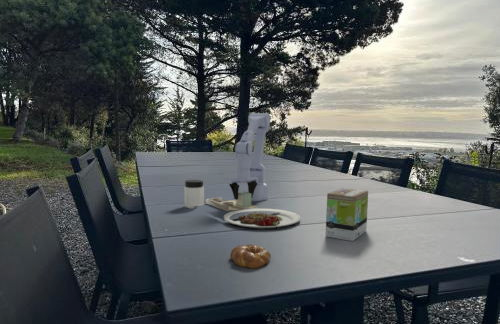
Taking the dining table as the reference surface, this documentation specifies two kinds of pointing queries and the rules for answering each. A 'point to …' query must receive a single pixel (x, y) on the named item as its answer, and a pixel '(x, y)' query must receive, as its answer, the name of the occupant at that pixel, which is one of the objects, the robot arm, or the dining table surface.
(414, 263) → the dining table surface
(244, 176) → the robot arm
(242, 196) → the tea tin
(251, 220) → the plated food
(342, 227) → the tea box
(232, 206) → the beige compartment tray
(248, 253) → the bagel
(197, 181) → the jar
